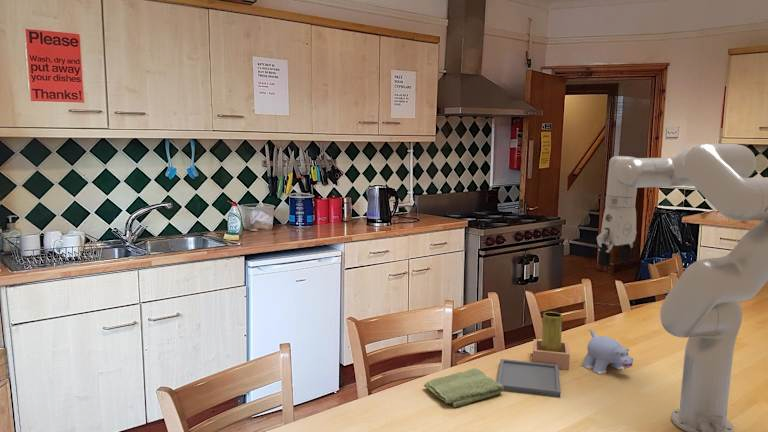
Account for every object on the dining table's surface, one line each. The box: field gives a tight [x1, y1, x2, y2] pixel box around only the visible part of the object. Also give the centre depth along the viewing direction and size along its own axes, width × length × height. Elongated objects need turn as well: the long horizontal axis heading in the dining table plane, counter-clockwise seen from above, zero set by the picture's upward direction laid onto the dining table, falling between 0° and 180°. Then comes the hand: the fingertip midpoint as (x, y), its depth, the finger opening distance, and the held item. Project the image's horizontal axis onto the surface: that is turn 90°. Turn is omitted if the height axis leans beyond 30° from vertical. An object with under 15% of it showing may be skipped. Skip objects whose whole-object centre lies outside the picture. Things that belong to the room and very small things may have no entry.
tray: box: [496, 358, 562, 398], centre depth 159 cm, size 18×16×2 cm
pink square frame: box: [532, 338, 570, 371], centre depth 172 cm, size 10×10×4 cm
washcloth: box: [423, 367, 504, 408], centre depth 151 cm, size 13×18×3 cm
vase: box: [541, 311, 563, 352], centre depth 171 cm, size 6×6×14 cm
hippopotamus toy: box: [581, 328, 634, 375], centre depth 167 cm, size 11×15×10 cm
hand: (614, 263), depth 162 cm, fingers open, 9 cm apart
